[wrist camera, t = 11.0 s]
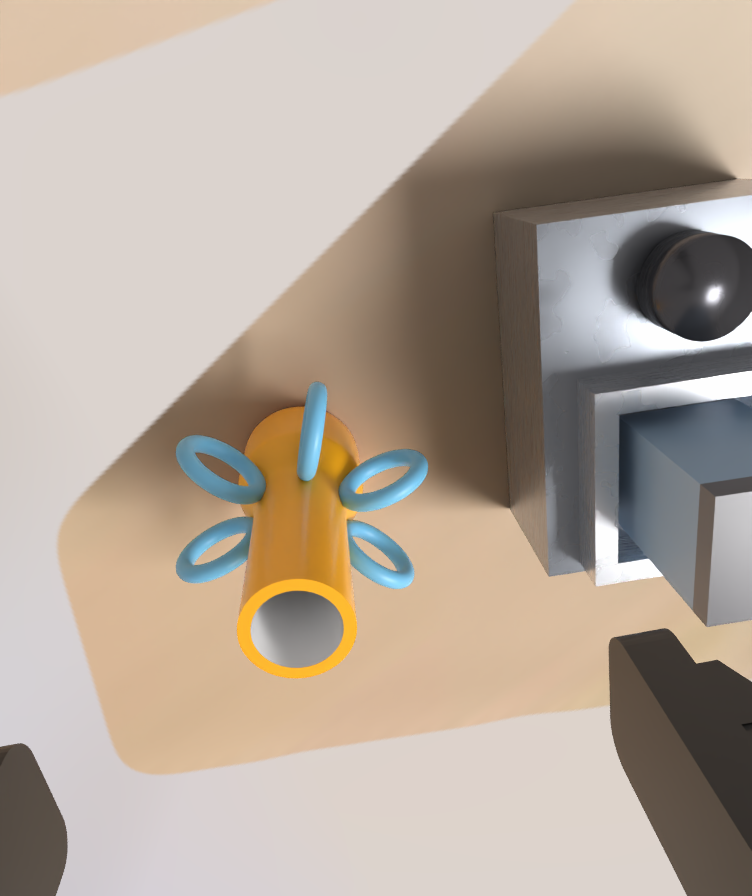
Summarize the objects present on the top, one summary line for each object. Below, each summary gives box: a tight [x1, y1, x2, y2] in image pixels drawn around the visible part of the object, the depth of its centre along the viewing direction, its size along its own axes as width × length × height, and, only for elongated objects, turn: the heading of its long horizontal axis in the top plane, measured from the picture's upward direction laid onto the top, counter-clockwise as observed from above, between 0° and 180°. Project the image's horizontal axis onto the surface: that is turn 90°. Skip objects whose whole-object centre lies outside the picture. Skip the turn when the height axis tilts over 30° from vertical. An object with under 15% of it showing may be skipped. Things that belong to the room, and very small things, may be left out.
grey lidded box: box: [618, 399, 752, 627], centre depth 28 cm, size 5×5×8 cm
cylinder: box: [176, 382, 428, 678], centre depth 31 cm, size 12×10×15 cm
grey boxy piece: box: [493, 179, 752, 586], centre depth 33 cm, size 16×12×9 cm
